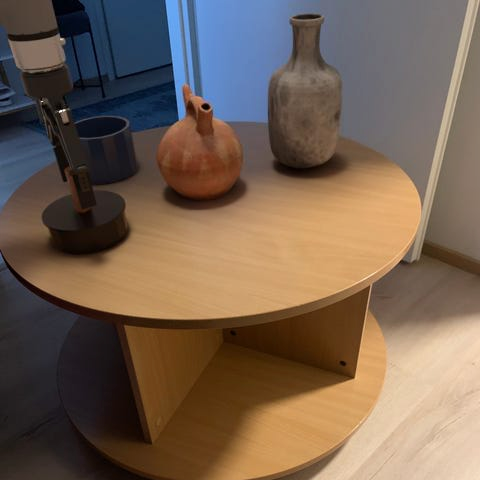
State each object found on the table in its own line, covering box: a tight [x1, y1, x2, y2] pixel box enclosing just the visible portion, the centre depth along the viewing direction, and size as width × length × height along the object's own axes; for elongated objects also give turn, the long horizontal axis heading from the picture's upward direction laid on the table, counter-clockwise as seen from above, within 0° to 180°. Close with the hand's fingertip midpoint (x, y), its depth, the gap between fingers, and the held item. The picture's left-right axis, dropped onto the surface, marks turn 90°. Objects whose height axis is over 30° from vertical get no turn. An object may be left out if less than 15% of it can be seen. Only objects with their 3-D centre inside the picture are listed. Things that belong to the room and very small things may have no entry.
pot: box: [74, 115, 139, 185], centre depth 118 cm, size 14×14×10 cm
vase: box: [267, 12, 343, 169], centre depth 109 cm, size 16×16×30 cm
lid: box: [41, 166, 127, 233], centre depth 93 cm, size 16×16×9 cm
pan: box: [47, 210, 129, 255], centre depth 97 cm, size 14×14×5 cm
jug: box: [156, 83, 244, 201], centre depth 105 cm, size 18×18×20 cm
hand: (79, 192), depth 93 cm, fingers open, 12 cm apart
